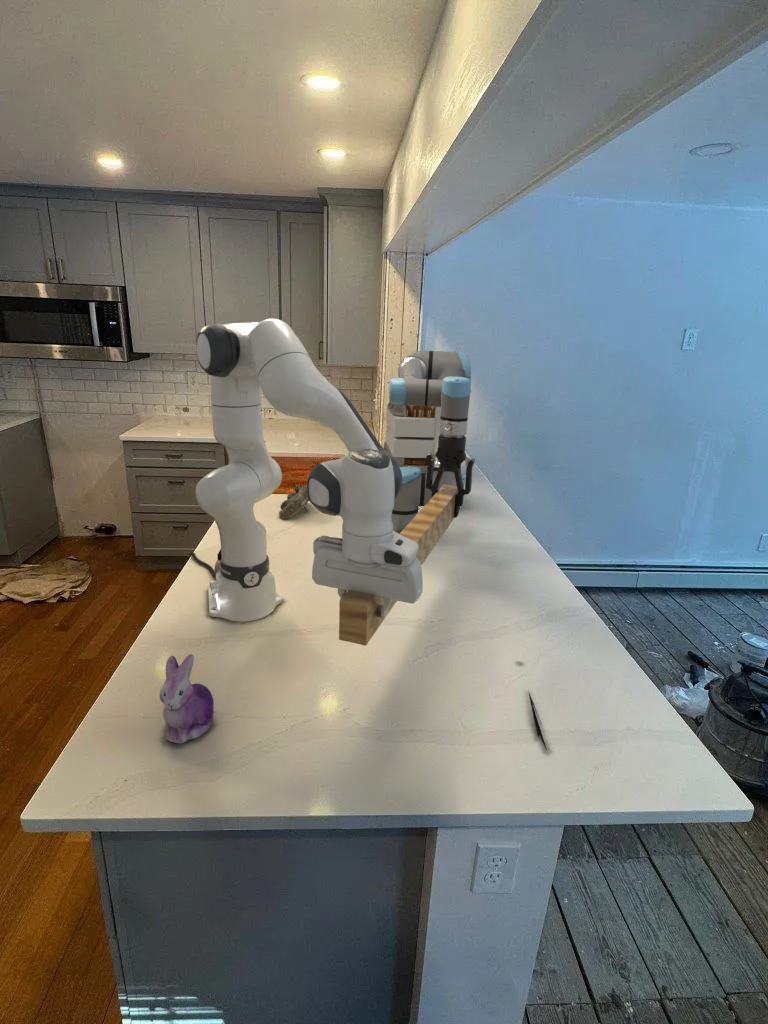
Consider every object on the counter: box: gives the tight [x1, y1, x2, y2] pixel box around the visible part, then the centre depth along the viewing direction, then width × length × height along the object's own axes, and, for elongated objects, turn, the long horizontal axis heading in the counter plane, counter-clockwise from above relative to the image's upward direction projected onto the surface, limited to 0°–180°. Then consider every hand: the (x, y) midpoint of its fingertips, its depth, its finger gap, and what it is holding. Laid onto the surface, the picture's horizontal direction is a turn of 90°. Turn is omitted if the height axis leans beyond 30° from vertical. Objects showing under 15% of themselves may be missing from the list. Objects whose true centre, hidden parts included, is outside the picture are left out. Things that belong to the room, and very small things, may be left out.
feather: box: [528, 689, 548, 751], centre depth 116 cm, size 2×28×2 cm
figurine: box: [159, 653, 215, 744], centre depth 102 cm, size 9×10×15 cm
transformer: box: [383, 401, 462, 467], centre depth 268 cm, size 34×33×41 cm
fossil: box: [278, 483, 310, 519], centre depth 216 cm, size 22×10×15 cm
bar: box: [338, 485, 458, 647], centre depth 132 cm, size 78×5×8 cm, turn 161°
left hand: (365, 613), depth 103 cm, fingers closed on bar, 5 cm apart
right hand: (446, 514), depth 163 cm, fingers closed on bar, 5 cm apart
